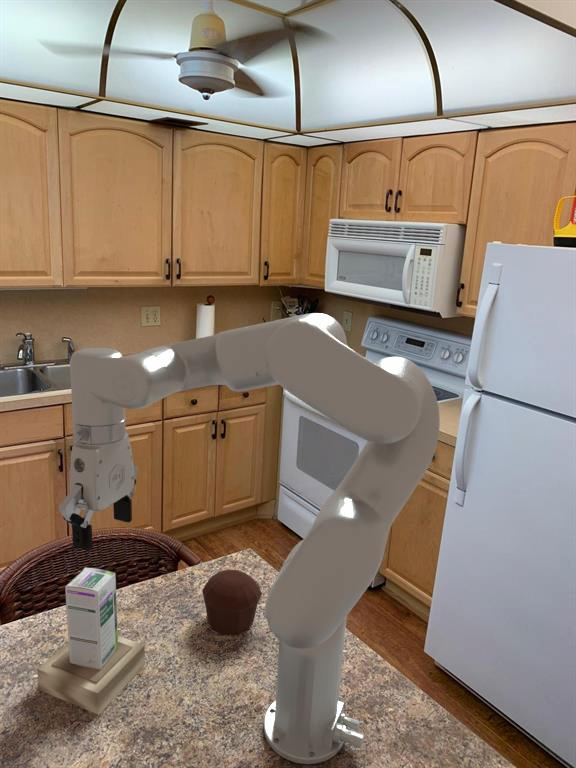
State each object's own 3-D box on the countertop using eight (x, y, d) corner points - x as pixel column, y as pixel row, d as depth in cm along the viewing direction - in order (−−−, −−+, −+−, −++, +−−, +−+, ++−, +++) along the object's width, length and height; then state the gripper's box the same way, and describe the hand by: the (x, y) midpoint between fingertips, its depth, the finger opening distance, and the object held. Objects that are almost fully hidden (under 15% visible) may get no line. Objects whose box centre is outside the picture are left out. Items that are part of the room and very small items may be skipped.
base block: (144, 664, 100) (144, 643, 99) (98, 715, 89) (98, 692, 88) (89, 644, 104) (88, 624, 103) (38, 689, 93) (37, 667, 92)
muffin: (190, 616, 113) (191, 571, 111) (236, 596, 120) (238, 554, 118) (224, 650, 105) (225, 601, 102) (271, 627, 112) (274, 581, 109)
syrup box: (101, 671, 92) (99, 591, 89) (67, 663, 93) (64, 584, 90) (118, 647, 98) (117, 571, 94) (86, 641, 99) (84, 565, 95)
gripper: (80, 452, 78) (86, 566, 82) (153, 419, 93) (155, 515, 97) (37, 443, 80) (44, 554, 84) (115, 412, 96) (118, 506, 100)
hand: (103, 533), depth 91 cm, fingers open, 9 cm apart
